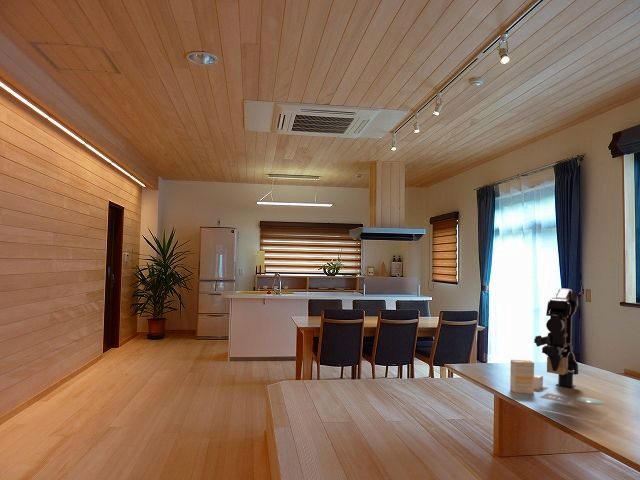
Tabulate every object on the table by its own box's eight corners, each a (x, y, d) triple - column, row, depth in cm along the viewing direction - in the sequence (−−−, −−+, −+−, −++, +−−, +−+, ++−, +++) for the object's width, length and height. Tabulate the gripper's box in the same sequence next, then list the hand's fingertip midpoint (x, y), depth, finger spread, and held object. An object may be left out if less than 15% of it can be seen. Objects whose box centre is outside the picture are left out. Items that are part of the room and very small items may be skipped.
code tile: (547, 394, 200) (547, 392, 200) (574, 399, 193) (574, 398, 193) (539, 398, 193) (539, 397, 193) (566, 404, 186) (566, 403, 186)
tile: (527, 384, 215) (527, 383, 215) (549, 388, 209) (549, 388, 209) (519, 387, 208) (519, 387, 208) (541, 392, 202) (541, 391, 202)
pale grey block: (530, 385, 212) (530, 373, 212) (542, 387, 208) (542, 376, 209) (526, 387, 208) (526, 375, 208) (538, 389, 205) (538, 377, 205)
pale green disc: (580, 396, 198) (580, 395, 198) (608, 402, 191) (608, 401, 191) (572, 401, 190) (572, 400, 190) (601, 407, 183) (601, 406, 183)
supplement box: (530, 392, 202) (530, 360, 203) (533, 395, 197) (534, 362, 198) (509, 390, 203) (510, 359, 204) (512, 393, 198) (513, 361, 199)
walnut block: (551, 370, 198) (552, 355, 198) (567, 372, 193) (568, 357, 194) (546, 372, 193) (547, 356, 193) (562, 375, 189) (563, 359, 189)
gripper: (545, 326, 206) (544, 363, 206) (528, 329, 193) (527, 369, 192) (573, 329, 199) (572, 368, 198) (558, 333, 185) (557, 374, 184)
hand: (557, 369), depth 193 cm, fingers closed on walnut block, 6 cm apart
